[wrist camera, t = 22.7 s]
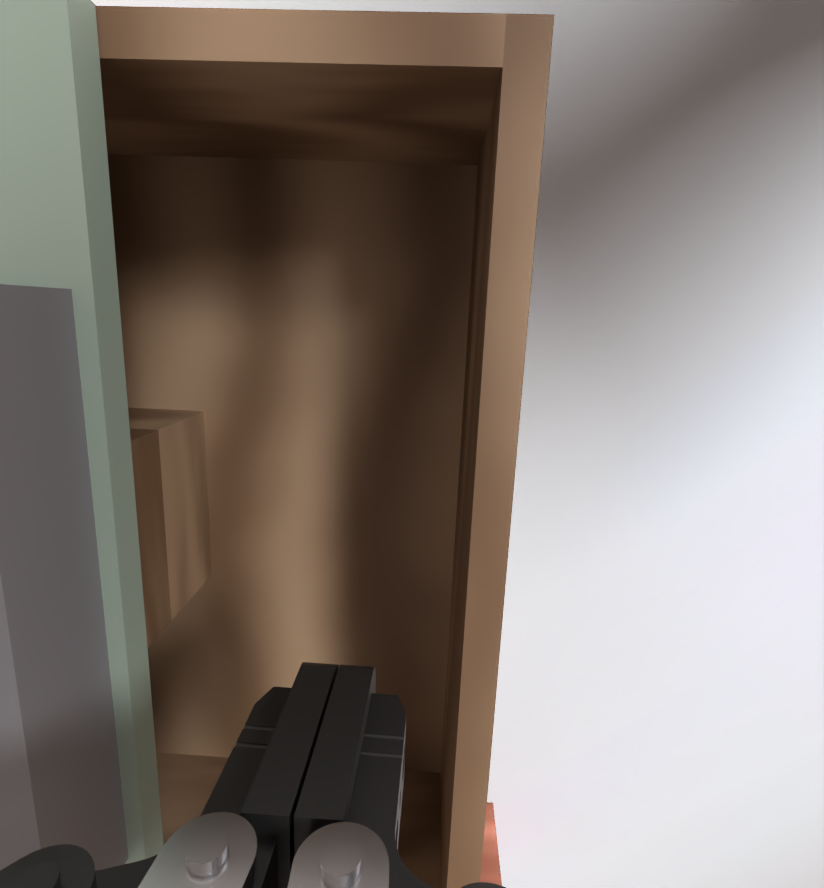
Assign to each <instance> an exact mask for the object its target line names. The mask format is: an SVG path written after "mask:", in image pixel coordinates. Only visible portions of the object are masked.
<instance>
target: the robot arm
mask: <svg viewBox="0 0 824 888" xmlns="http://www.w3.org/2000/svg"><path fill="white" fill-rule="evenodd" d="M375 690H376V669H375V667H372V666H357V665H342V664H340V666H339V665H338V664H325V663H310V662H303V663H302V664H301V666H300V669H299V671H298V673H297V676H296V678H295V681H294V683H293V686H292V688H287V687H273V688H272V689H271V690H269V691H268V692H267V693H266V694H265V695H264V696H263V697H262V698H261V699H260V700H258V701H257V702H256V703H255V705H254V707H253V709H252V711H251V713H250V715H249V717H248V719H247V721H246V723H245V727H244V729H242V731H241V733H240V735H239V737H238V740H237V742H236V746H234V748H233V750H232V752H231V754H230V756H229V758H228V760H227V762H226V764H225V766H224V768H223V770H222V772H221V774H220V777H219V779H218V781H217V783H216V785H215V787H214V789H213V791H212V793H211V795H210V797H209V799H208V801H207V803H206V805H205V807H204V809H203V811H202V813H201V815H200V816H199V817H197V818H195V819H193V820H191V821H189V822H187V823H186V824H184V825H183V826H181V827H180V828H179V829H178V830H177V831H176V832H174V833H173V834H172V836H171V837H170V838H169V839H168V840H167V841H166V843H165V844H164V846H163V847H162V849H161V850H160V852H159V854H157V855H155V856H152V857H150V858H147V859H144V860H141V861H137V862H133V863H128V864H124V865H119V866H115V867H111V868H106V869H102V870H98V871H95V866H94V861H93V859H92V856H91V855H90V854H89V853H88V851H86V850H85V849H83V848H82V847H79V846H76V845H70V844H60V845H54V846H49V847H46V848H42V849H39V850H37V851H34V852H32V853H30V854H28V855H26V856H24V857H22V858H21V859H19V860H17V861H15V862H14V863H12V864H10V865H9V866H7V867H5V868H4V869H2V870H0V888H433V887H431V886H429V885H427V884H425V883H424V882H422V881H421V880H419V879H418V878H417V877H415V876H414V875H413V874H412V873H411V872H410V871H409V870H408V868H407V867H406V866H405V864H404V863H403V861H402V859H401V857H400V855H399V853H398V840H399V829H400V818H401V807H402V795H403V784H404V767H405V739H406V712H405V710H404V708H403V706H402V703H401V701H400V699H399V697H398V695H390V694H375ZM461 888H505V887H503V886H500V885H497V884H493V883H488V882H477V883H471V884H468V885H465V886H463V887H461Z"/></svg>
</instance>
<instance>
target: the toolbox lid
mask: <svg viewBox="0 0 824 888" xmlns="http://www.w3.org/2000/svg"><path fill="white" fill-rule="evenodd" d="M60 844H70V845H76V846H79V847H82V848H83V849H85V850H86V851H88V853H89V854H90V855H91V856H92V859H93V861H94V866H95V871H98V870H102V869H106V868H111V867H115V866H119V865H124V864H128V863H133V862H137V861H141V860H144V859H147V858H150V857H152V856H155V855H157V854H159V852H160V850H161V849H162V847H163V846H164V844H163V832H162V820H161V807H160V795H159V783H158V771H157V758H156V746H155V734H154V721H153V709H152V697H151V684H150V672H149V660H148V648H147V635H146V623H145V611H144V598H143V586H142V574H141V561H140V549H139V537H138V525H137V512H136V500H135V488H134V475H133V463H132V451H131V438H130V426H129V414H128V402H127V389H126V377H125V365H124V352H123V340H122V328H121V315H120V303H119V291H118V279H117V266H116V254H115V242H114V229H113V217H112V205H111V192H110V180H109V168H108V156H107V143H106V131H105V119H104V106H103V94H102V82H101V69H100V57H99V45H98V33H97V20H96V8H95V4H94V3H93V2H92V1H90V0H0V870H2V869H4V868H5V867H7V866H9V865H10V864H12V863H14V862H15V861H17V860H19V859H21V858H22V857H24V856H26V855H28V854H30V853H32V852H34V851H37V850H39V849H42V848H46V847H49V846H54V845H60Z"/></svg>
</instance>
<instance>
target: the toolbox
mask: <svg viewBox="0 0 824 888" xmlns="http://www.w3.org/2000/svg"><path fill="white" fill-rule="evenodd" d="M95 8H96V20H97V33H98V45H99V57H100V69H101V82H102V94H103V106H104V119H105V131H106V143H107V156H108V168H109V180H110V192H111V205H112V217H113V229H114V242H115V254H116V266H117V279H118V291H119V303H120V315H121V328H122V340H123V352H124V365H125V377H126V389H127V402H128V414H129V426H130V438H131V451H132V463H133V475H134V488H135V500H136V512H137V525H138V537H139V549H140V561H141V574H142V586H143V598H144V611H145V623H146V635H147V648H148V660H149V672H150V684H151V697H152V709H153V721H154V734H155V746H156V758H157V771H158V783H159V795H160V807H161V820H162V832H163V844H165V843H166V841H167V840H168V839H169V838H170V837H171V836H172V834H173V833H174V832H176V831H177V830H178V829H179V828H180V827H181V826H183V825H184V824H186V823H187V822H189V821H191V820H193V819H195V818H197V817H199V816H200V815H201V813H202V811H203V809H204V807H205V805H206V803H207V801H208V799H209V797H210V795H211V793H212V791H213V789H214V787H215V785H216V783H217V781H218V779H219V777H220V774H221V772H222V770H223V768H224V766H225V764H226V762H227V760H228V758H229V756H230V754H231V752H232V750H233V748H234V746H236V742H237V740H238V737H239V735H240V733H241V731H242V729H244V727H245V723H246V721H247V719H248V717H249V715H250V713H251V711H252V709H253V707H254V705H255V703H256V702H257V701H258V700H260V699H261V698H262V697H263V696H264V695H265V694H266V693H267V692H268V691H269V690H271V689H272V688H273V687H287V688H292V686H293V683H294V681H295V678H296V676H297V673H298V671H299V669H300V666H301V664H302V663H303V662H310V663H325V664H338V665H339V666H340V664H342V665H357V666H372V667H375V669H376V690H375V694H390V695H398V697H399V699H400V701H401V703H402V706H403V708H404V710H405V712H406V739H405V767H404V784H403V795H402V807H401V818H400V829H399V840H398V853H399V855H400V857H401V859H402V861H403V863H404V864H405V866H406V867H407V868H408V870H409V871H410V872H411V873H412V874H413V875H414V876H415V877H417V878H418V879H419V880H421V881H422V882H424V883H425V884H427V885H429V886H431V887H433V888H461V887H463V886H465V885H468V884H471V883H477V882H480V875H481V863H482V851H483V839H484V828H485V816H486V804H487V793H488V781H489V769H490V758H491V746H492V734H493V723H494V711H495V699H496V688H497V676H498V664H499V653H500V641H501V629H502V618H503V606H504V594H505V583H506V571H507V559H508V548H509V536H510V524H511V512H512V501H513V489H514V477H515V466H516V454H517V442H518V431H519V419H520V407H521V396H522V384H523V372H524V361H525V349H526V337H527V326H528V314H529V302H530V291H531V279H532V267H533V256H534V244H535V232H536V220H537V209H538V197H539V185H540V174H541V162H542V150H543V139H544V127H545V115H546V104H547V92H548V80H549V69H550V57H551V45H552V34H553V22H554V15H544V14H492V13H439V12H386V11H333V10H280V9H228V8H175V7H122V6H95Z"/></svg>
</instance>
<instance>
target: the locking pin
mask: <svg viewBox="0 0 824 888" xmlns="http://www.w3.org/2000/svg"><path fill="white" fill-rule="evenodd" d="M480 882H488V883H493V884H497V885H500V886H502V883H501V874H500V865H499V855H498V846H497V837H496V828H495V819H494V809H493V803H487V804H486V816H485V828H484V839H483V851H482V863H481V875H480Z"/></svg>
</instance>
